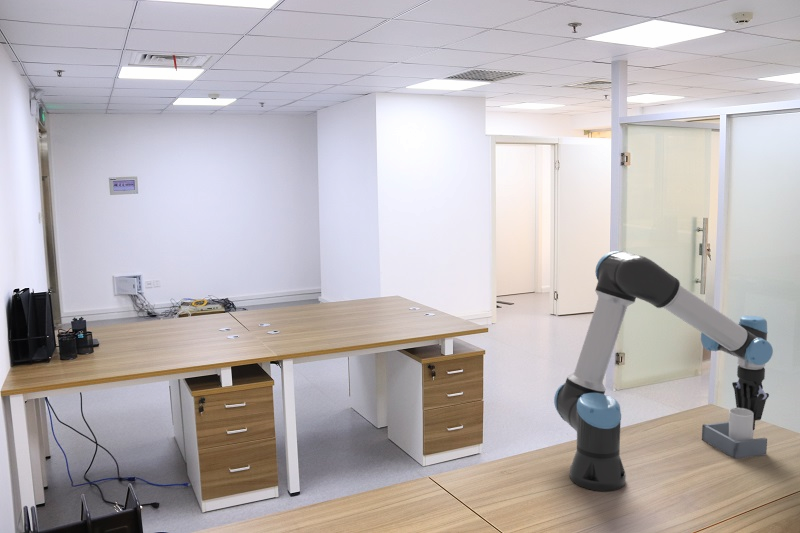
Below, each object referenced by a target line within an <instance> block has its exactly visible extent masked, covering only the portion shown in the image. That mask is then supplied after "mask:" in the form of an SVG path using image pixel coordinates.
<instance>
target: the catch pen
mask: <svg viewBox="0 0 800 533" xmlns="http://www.w3.org/2000/svg"><path fill="white" fill-rule="evenodd" d="M701 429H702V430H701V440H702V441H704V442H705V443H707V444H709V445H710V446H712V447H714V448H716V449H717V450H719V451H721V452H723V453H725V454H726V455H728V456H729V457H732V459H736V460H737V459H743V458H750V457H751V458H752V457H758V456H765V455H767V451H768V450H767V449H768V448H767V447H768V438H767V437H758V438H753V439H750V440H742V441H735V440H733V439H731V438H730V437H729V420H728V421H722V422H712V423H704V424H702V428H701Z"/></svg>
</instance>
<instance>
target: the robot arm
mask: <svg viewBox="0 0 800 533" xmlns="http://www.w3.org/2000/svg"><path fill="white" fill-rule="evenodd" d="M596 263H597V264H596V266H595V277H596V279H597V283H596V286H595V290H594V291H595V294H596V295H597V300H596V304H595V307H594V310H593V314H592V316H591V320H590V323H589V326H588V330H587V331H586V335H585V338H584V340H583V344H582V347H581V351H580V353H579V356H578V360H577V363H576V366H575V369H574V372H573V373H571V374H569V375H567V377H566V379H565V382H564V383H563V384H562V385H560V386H559V387H558V388H557V389H556V391H555V393H554V399H553V403H554V408H555V410H556V411H557V414H558V415H559V416H560V418H561V419H562V420H564V422H566V423H567V424H568V425H569V426H570V427H572V429H574V430H575V432H576V452H575V454H574V457H573V460H572V463H571V465H570V468H569V478H570V480H571V481H572V482H573V483H574V482H575V483H576V484H575V483H574V484H575V485H577V486H579V487H580V488H583V489H588V490H591V491H596V492H597V491H599V492H611V491H617V490H619V489H621V488H623V487H624V486H625V484H626V471H625V468H624V465H623V462H622V458H621V456H620V452H621V451H620V449H621V444H620V443H621V422H622V413H621V412H622V411H621V405H620V403H619V402H618V400H616V399H615V398H613V397H612V396H610V395H605V393H606V387H605V385H604V379H605V375H606V373H607V369H608V366H609V364H610V361H611V357H612V354H613V351H614V348H615V345H616V342H617V340H618V336H619V334H620V331H621V327H622V324H623V321H624V318H625V314H626V312H627V310H628V307H629V306H630V305H633V304H635V302H636V299H639V300H641V301H644V302H647V303H649V304H650V305H652V306H654V307H655V308H656V309H664V310H666V311H668V312H670V313H671V314H672V315H674V316H676V317H677V318H679V319H680V320H682V321H684V322H685V323H686V324H688V325H689V326H691V327H692V328H694V329H695V330H698V331H699V332H700V341H701V344H702V347H703V348H704V349H705V350H706V351H710V352H717V351H722V352H724V353H726V354H729V355H730V356H734V357H736V358H737V364H738V365H737V369H736V370H737V371H736V373H737V374H736V376H737V378H738V380H737V381H733V382H732V388H733V390H734V391H733V392H734V399H735V406H736V407H735V408H744V409H748V410H750V411H752V412H753V413H754V417H753V431H755V427H756V421H760V420H762V416H763V414H764V413H763V412H764V411H765V410H764V408H765V407H766V406H765V405H766V402H767V400H768V398H769V397H770V394H769V392H765V391H764V389H763V387H764V386H763V381H764V380H765V379H766V378H765V377H766V376H765V375H766V368H765V366H766V364H767V363H768V362H770V360H771V358H772V356H773V352H774V350H773V349H774V348H773V346H772V344H771V343H770V342H769V341H768V340H767V339H768V322H767V320H766V319H765V318H764V317H761V316H757V315H744V316H741V317H740V318H739V321H738V323H737V322H735V321H734V320H733V319H731V318H729V317H728V316H726V315H725V314H723V312H720V311H719V310H718V309H717V308H715V307H713V306H712V305H710V304H708V302H705V301H704V300H702V299H701V298H699V297H698V296H697V295H695V294H693V293H692V292H691V291H689V290H688V289H686V288H684V287H683V286H682V285H681V281H680V280H679V279H678V278H676V276H674V275H673V274H671V273H669V272H668V271H667V270H665V268H663V267H661V266H660V265H659V264H657V263H656V262H655V261H653V260H652V259H650V258H648V257H646V256H643V255H639V254H638V255H637V254H634V253H631V252H628V251H623V250H622V251H620V250H619V251H618V250H615V251H614V250H612V251H610V252H607V253H606V254H604V255H603V256H602V257H601V258H600V259H599V260H598V262H596ZM752 439H754V432H753V433H752Z"/></svg>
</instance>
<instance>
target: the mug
mask: <svg viewBox="0 0 800 533" xmlns="http://www.w3.org/2000/svg"><path fill="white" fill-rule="evenodd" d="M753 417H754V413H753V412H752V411H750V410H748V409H744V408H737V407H733V408H730V409H729V410H728V421H729V437H730V438H731V439H733V440H735V441H742V440H750V439H752V433H753V434H754V430H753Z"/></svg>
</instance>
